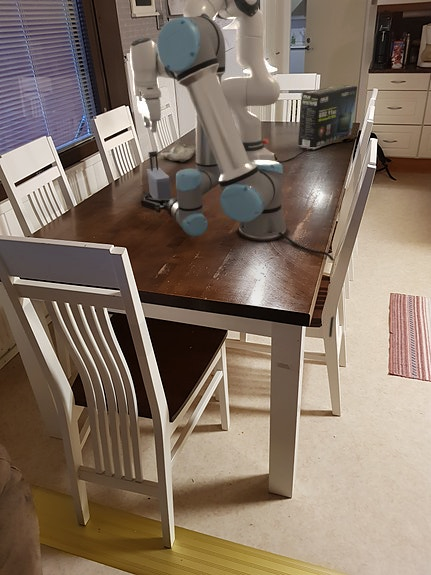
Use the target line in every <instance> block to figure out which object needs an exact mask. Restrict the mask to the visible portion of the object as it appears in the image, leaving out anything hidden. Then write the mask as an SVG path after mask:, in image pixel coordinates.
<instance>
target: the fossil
mask: <svg viewBox="0 0 431 575" xmlns="http://www.w3.org/2000/svg"><path fill="white" fill-rule="evenodd" d="M194 155H196V146H195V145H188V146H187V145H186V143H184V142H183V143H181V142H176V143H175V145H174V146H173V147H172V148H171V149H170V150H168V149H165V150H162V151H161V152H160V156H161V158H162V159H163V160H169V161H174V162H177V161H179V162H180V163H185V162H187V161H188V160H190V159H191V158H192V157H193V156H194Z"/></svg>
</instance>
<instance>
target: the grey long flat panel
mask: <svg viewBox="0 0 431 575" xmlns="http://www.w3.org/2000/svg"><path fill="white" fill-rule="evenodd" d="M147 154H148V157H149V165H150V166H149V167H150V168H147V169H146V173H148V174H149V175H150V176H151V177H152V178H153V179H154V180H155V181H156V183H158V182H164V181H170V182H171V177H170V176H169V175H168V174H166V173H165V172H164V170H163V169H161V167H159V162H158V161H159V160H158V150H157V151H156V150H155V151H154V150H153V151H148V152H147ZM153 158H154V160H155V167H153ZM148 174H147V175H148Z"/></svg>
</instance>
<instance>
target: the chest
mask: <svg viewBox="0 0 431 575" xmlns="http://www.w3.org/2000/svg"><path fill="white" fill-rule="evenodd" d="M146 173H147V172H146ZM147 182H148V189H149V190H148V191H149V196H150V197H151V198H156V199H163V198H165V199H172V189H171V180H170V181H164V182H158V183H156V181H155V180H154V179H153V178H152V177H151V176H150V175H149V174H148V173H147ZM165 202H166V201H165Z"/></svg>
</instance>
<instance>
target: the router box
mask: <svg viewBox="0 0 431 575" xmlns="http://www.w3.org/2000/svg"><path fill="white" fill-rule="evenodd" d="M357 93H358V86H356V85H350V84H339V85H338V84H337V85H334V86H328V87H324V88H318V89H314V90H309V91H304V92H301V93H300V109H299V110H300V111H299V124H298V137H297V146H298V145H302V146H307V147H317V146H320V145H323V144H325V143H328V142H331V141H333V140H336V139H338V138H341V137H344V136H347V135H351V136H352V133H353V132H352V131H353V125H354V115H355V109H356V99H357ZM311 151H313V150H312V149H311Z"/></svg>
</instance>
